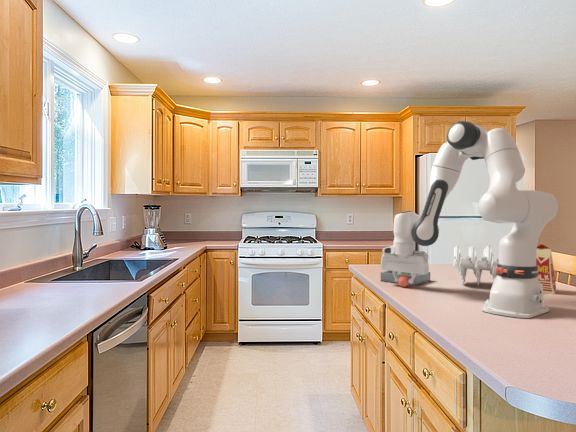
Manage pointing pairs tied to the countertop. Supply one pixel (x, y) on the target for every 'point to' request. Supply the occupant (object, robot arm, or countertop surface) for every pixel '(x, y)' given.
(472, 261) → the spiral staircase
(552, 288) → the milk carton
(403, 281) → the tomato ball
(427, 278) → the bin
